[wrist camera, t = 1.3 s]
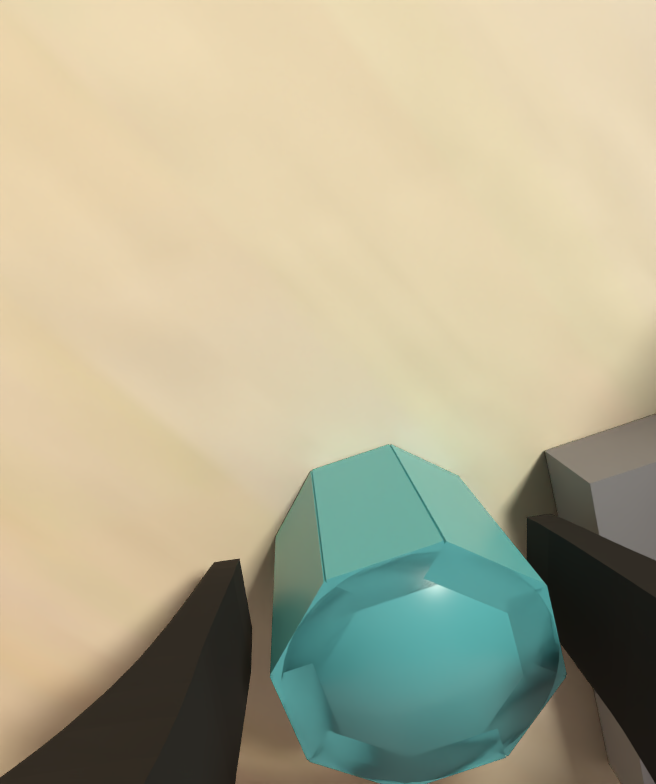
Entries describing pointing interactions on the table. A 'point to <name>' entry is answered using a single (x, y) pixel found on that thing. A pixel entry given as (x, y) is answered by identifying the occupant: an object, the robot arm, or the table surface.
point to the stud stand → (612, 525)
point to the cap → (406, 623)
